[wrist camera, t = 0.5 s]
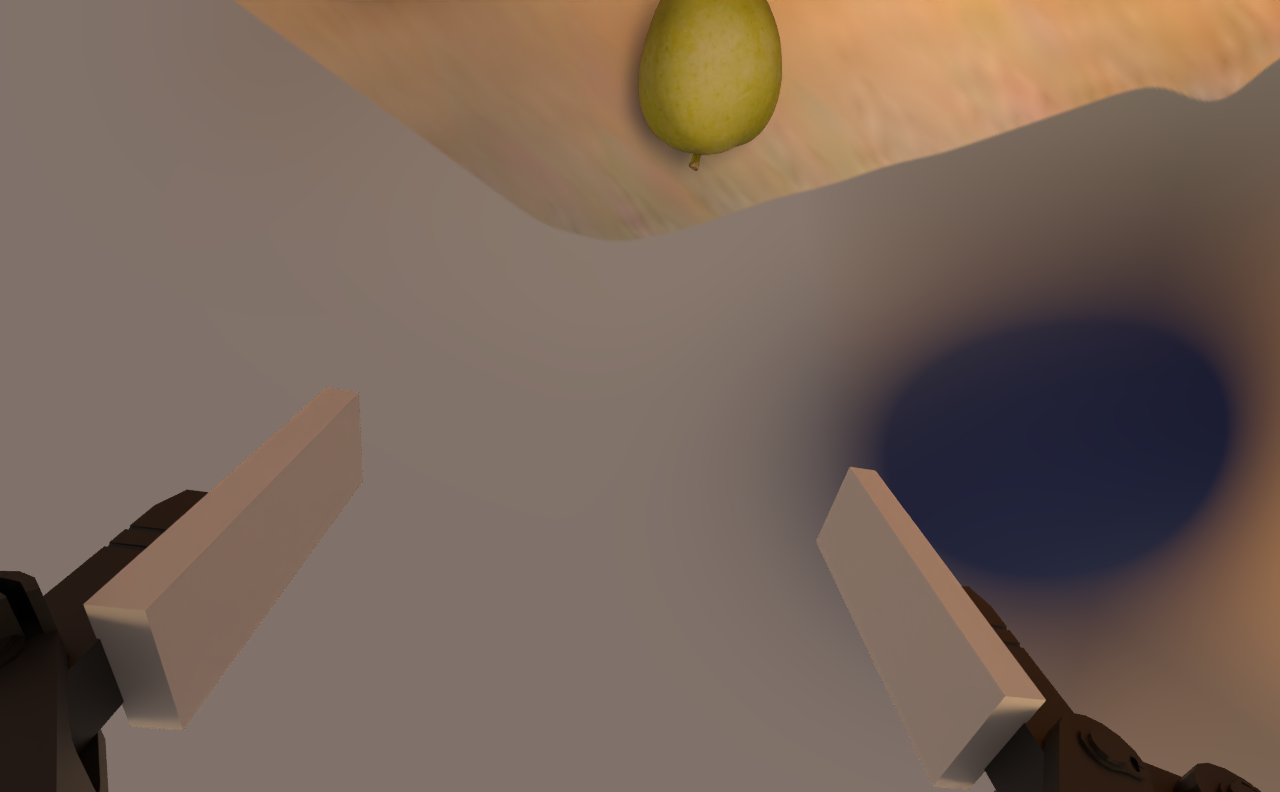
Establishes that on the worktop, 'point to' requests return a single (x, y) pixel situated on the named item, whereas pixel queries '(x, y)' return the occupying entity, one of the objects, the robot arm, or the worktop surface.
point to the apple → (710, 73)
